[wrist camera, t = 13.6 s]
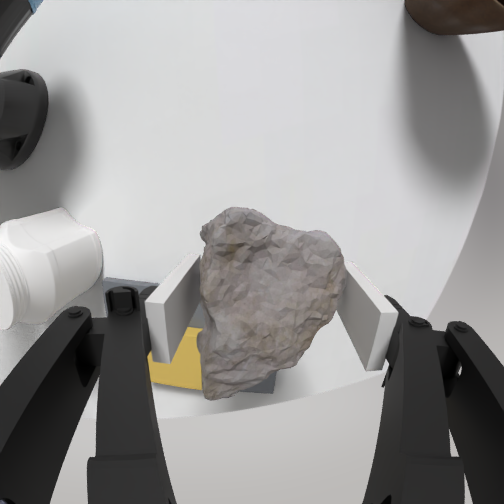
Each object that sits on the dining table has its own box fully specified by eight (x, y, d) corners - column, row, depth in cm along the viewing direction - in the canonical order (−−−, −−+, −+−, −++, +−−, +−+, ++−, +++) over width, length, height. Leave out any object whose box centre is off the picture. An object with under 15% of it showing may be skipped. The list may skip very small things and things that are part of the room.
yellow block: (140, 319, 33) (147, 370, 35) (133, 328, 31) (142, 379, 33) (203, 328, 33) (204, 379, 35) (200, 337, 31) (201, 390, 33)
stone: (289, 369, 19) (294, 432, 13) (175, 333, 19) (146, 389, 13) (351, 237, 16) (390, 268, 11) (218, 189, 16) (191, 197, 10)
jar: (112, 242, 32) (30, 286, 18) (90, 302, 34) (22, 360, 20) (50, 198, 31) (-36, 217, 16) (34, 257, 33) (-39, 293, 19)
